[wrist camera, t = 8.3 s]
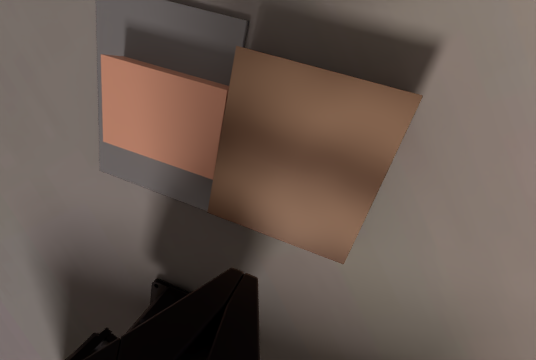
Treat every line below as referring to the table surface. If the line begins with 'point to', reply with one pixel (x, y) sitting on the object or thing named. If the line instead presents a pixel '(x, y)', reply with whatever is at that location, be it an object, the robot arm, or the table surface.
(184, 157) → the block
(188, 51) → the mat
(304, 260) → the table surface
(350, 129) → the plate
